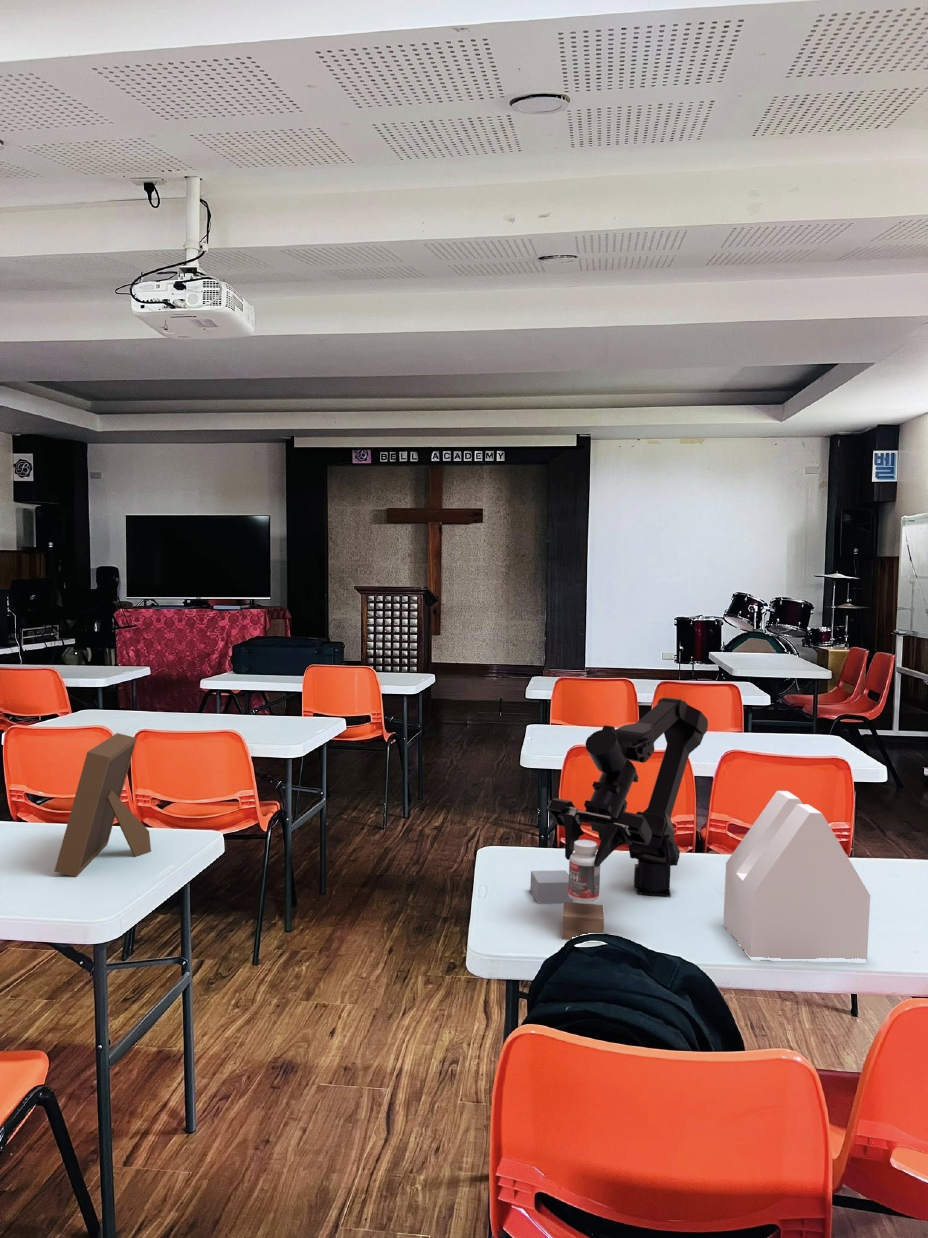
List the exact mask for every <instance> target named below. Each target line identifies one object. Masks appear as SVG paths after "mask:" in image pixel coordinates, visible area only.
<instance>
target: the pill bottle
mask: <svg viewBox="0 0 928 1238" xmlns="http://www.w3.org/2000/svg"><path fill="white" fill-rule="evenodd" d="M597 850H598V843H597V842H596V841H593V840H589V839H578V840H577V841H575V842H574V851H573V854H571V856H570V859H569V860H568V862H569V866H568V867H569V868H568V874H569V887H568V895H569V897H570V898H571V899H573V900H574V901H575V902H577V903H593V902H597V900H599V898H600V882H601V881H600V880H601V864H600V865H599V866H598V867H596V866H595V865H594V861H595V857H596V853H597Z"/></svg>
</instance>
